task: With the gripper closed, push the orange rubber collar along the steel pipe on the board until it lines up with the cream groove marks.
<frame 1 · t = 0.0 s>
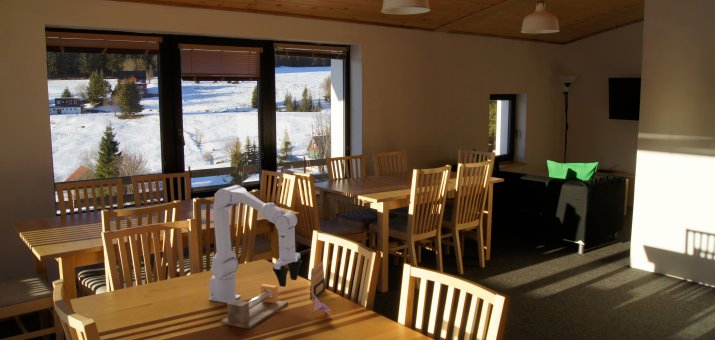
hand: (288, 282, 215), 10 cm above the table, tool pointing down, fingers open, 7 cm apart
pipe board: (255, 313, 213), on the table
pipe: (257, 312, 214), resting on pipe board
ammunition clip: (317, 295, 232), on the table
collar: (269, 293, 221), point 5 cm above the table, slide at 0.0 cm
lily: (320, 318, 209), on the table
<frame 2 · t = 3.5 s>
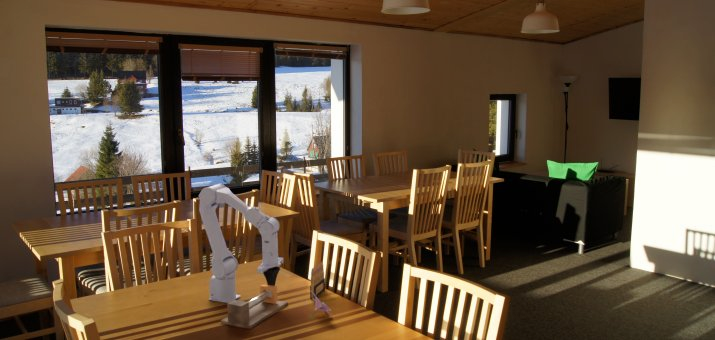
hand: (271, 286, 222), 7 cm above the table, tool pointing down, fingers closed
collar: (268, 293, 220), point 5 cm above the table, slide at 0.3 cm, touching gripper
everything else where it was.
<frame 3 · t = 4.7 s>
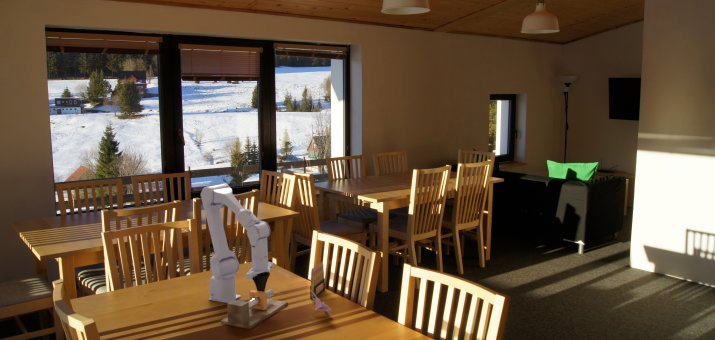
hand: (261, 292, 216), 7 cm above the table, tool pointing down, fingers closed
collar: (258, 299, 214), point 5 cm above the table, slide at 7.1 cm, touching gripper
everything else where it was.
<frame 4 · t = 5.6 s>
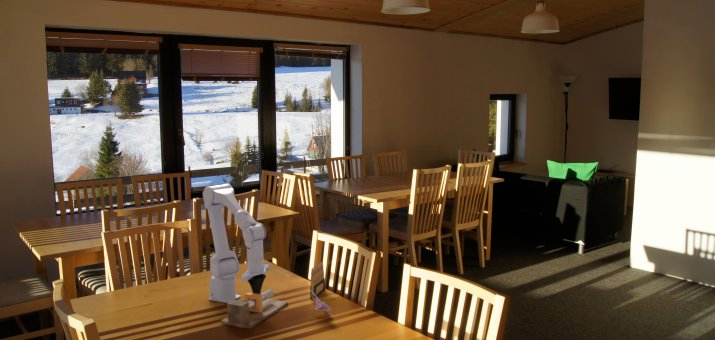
hand: (256, 294, 213), 7 cm above the table, tool pointing down, fingers closed
collar: (253, 302, 212), point 5 cm above the table, slide at 9.8 cm, touching gripper
everything else where it was.
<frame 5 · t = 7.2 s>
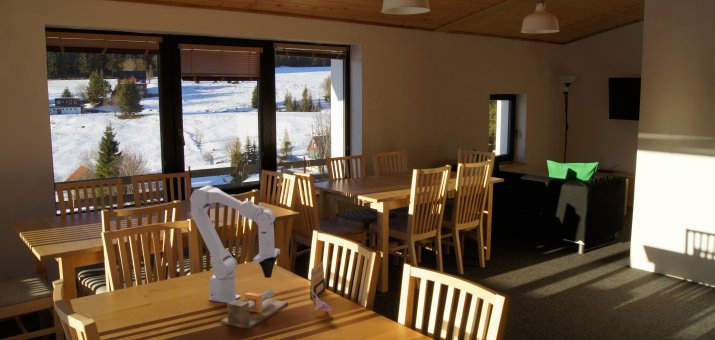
hand: (267, 277, 224), 9 cm above the table, tool pointing down, fingers closed
collar: (253, 302, 212), point 5 cm above the table, slide at 9.9 cm
everything else where it was.
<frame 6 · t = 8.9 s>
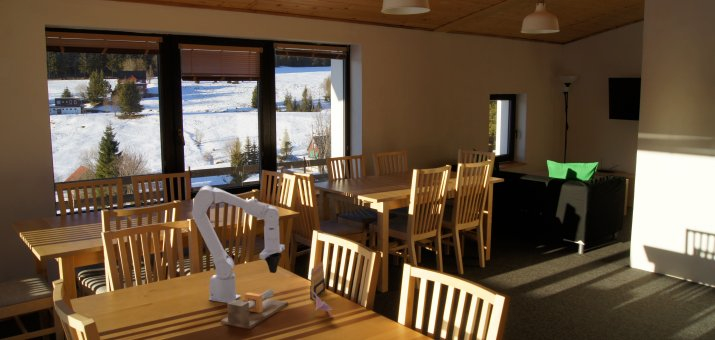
hand: (273, 272, 230), 9 cm above the table, tool pointing down, fingers closed
nothing on the table moved.
at the end: collar slide at 9.9 cm; collar moved 9.9 cm from its start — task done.
